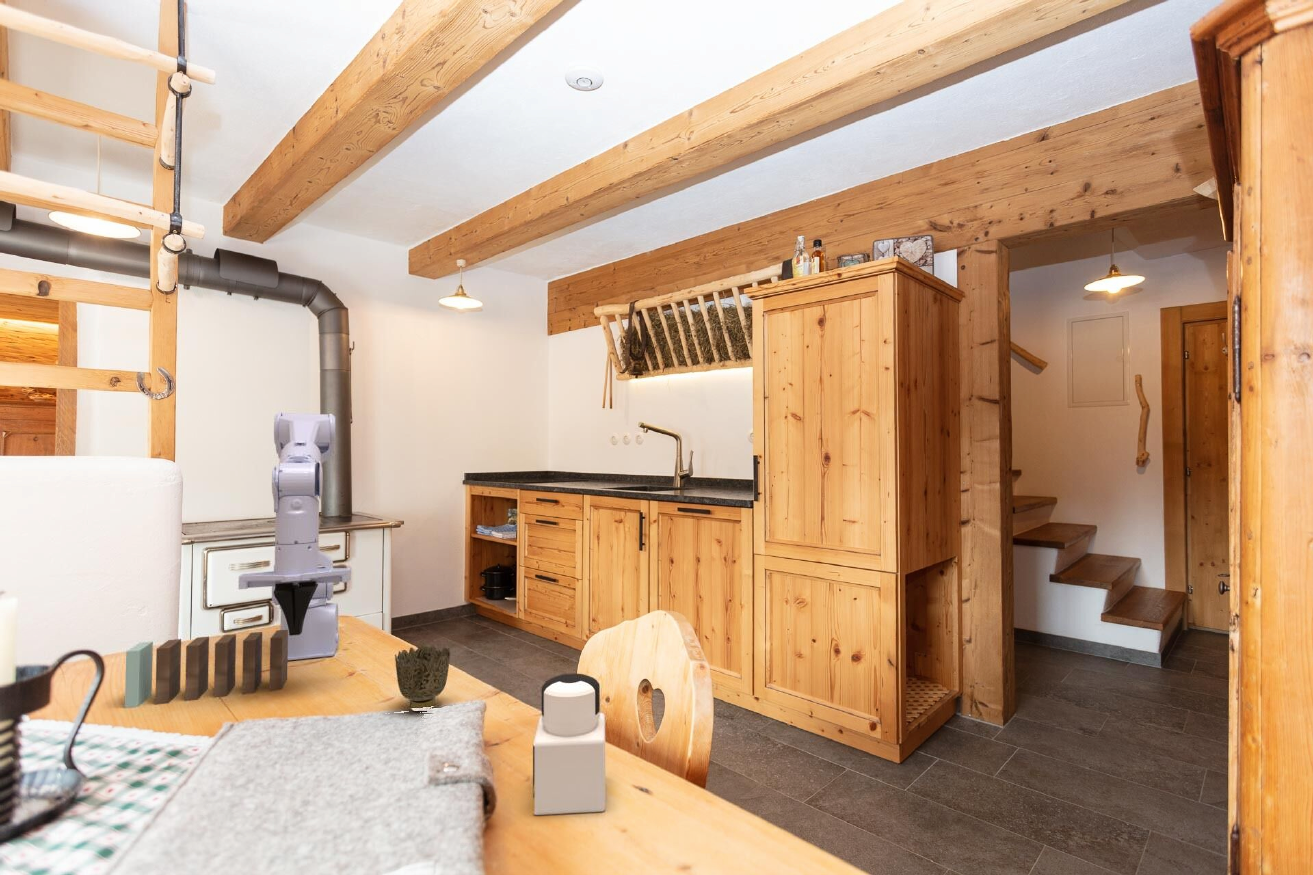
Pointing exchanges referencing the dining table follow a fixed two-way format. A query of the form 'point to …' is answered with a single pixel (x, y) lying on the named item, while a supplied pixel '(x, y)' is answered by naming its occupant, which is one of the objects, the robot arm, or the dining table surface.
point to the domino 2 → (168, 671)
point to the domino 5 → (252, 663)
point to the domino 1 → (138, 674)
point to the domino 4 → (224, 665)
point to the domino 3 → (197, 668)
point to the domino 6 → (278, 659)
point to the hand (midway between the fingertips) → (295, 633)
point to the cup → (422, 674)
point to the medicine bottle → (569, 748)
